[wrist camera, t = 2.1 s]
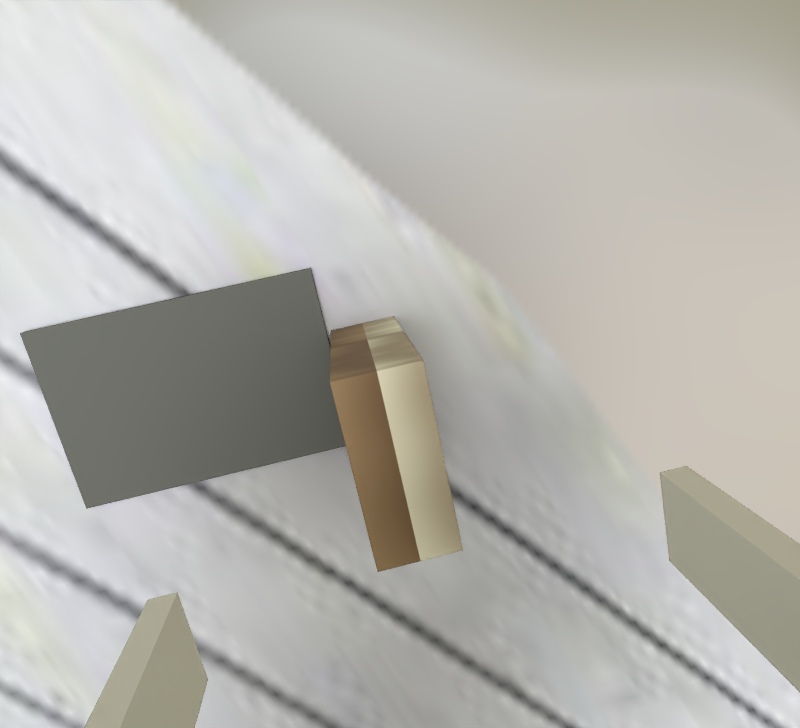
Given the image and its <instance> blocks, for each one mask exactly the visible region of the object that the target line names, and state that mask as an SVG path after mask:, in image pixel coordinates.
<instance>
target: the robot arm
mask: <svg viewBox="0 0 800 728" xmlns="http://www.w3.org/2000/svg"><path fill="white" fill-rule="evenodd" d="M660 479H661V488H662V498H663V507H664V516H665V525H666V535H667V544H668V553H669V561H670V562H671V563H672V564H673V565H674V566H675V567H676V568H677V569H678V570H679V571H680V572H681V573H682V574H683V575H684V576H685V577H686V578H687V579H688V580H689V581H690V582H691V583H692V584H693V585H694V586H695V587H696V588H697V589H698V590H699V591H700V592H701V593H702V594H703V595H704V596H705V597H706V598H707V599H708V600H709V601H710V602H711V603H712V604H713V605H714V606H715V607H716V608H717V609H718V610H719V611H720V612H721V613H722V614H723V615H724V616H725V617H726V618H727V619H728V620H729V621H730V622H731V623H732V624H733V626H734V627H735V628H736V629H737V630H738V631H739V632H740V633H741V634H742V635H743V636H744V637H745V638H746V639H747V640H748V641H749V642H750V643H751V644H752V645H753V646H754V647H755V648H756V649H757V650H758V651H759V652H760V653H761V654H762V655H763V656H764V657H765V658H766V659H767V660H768V661H769V662H770V663H771V664H772V665H773V666H774V667H775V668H776V669H777V670H778V671H779V672H780V673H781V674H782V675H783V676H784V677H785V678H786V679H787V680H788V681H789V682H790V683H791V684H792V685H793V686H794V687H795V688H796V689H797V690H798V691H799V692H800V544H799V543H798V542H796V541H795V540H793V539H792V538H790V537H789V536H787V535H786V534H785V533H783V532H782V531H780V530H779V529H777V528H776V527H774V526H773V525H772V524H770V523H769V522H767V521H766V520H764V519H763V518H761V517H760V516H758V515H757V514H755V513H754V512H753V511H751V510H750V509H748V508H747V507H745V506H744V505H743V504H741V503H740V502H738V501H737V500H735V499H734V498H732V497H731V496H730V495H728V494H727V493H725V492H724V491H722V490H721V489H719V488H718V487H716V486H715V485H714V484H712V483H711V482H709V481H708V480H706V479H705V478H703V477H702V476H701V475H699V474H698V473H696V472H695V471H693V470H692V469H690V468H689V467H687V466H684V467H680V468H676V469H673V470H668V471H664V472H660ZM207 681H208V678H207V675H206V672H205V670H204V667H203V664H202V661H201V658H200V655H199V652H198V650H197V647H196V644H195V641H194V638H193V635H192V633H191V630H190V627H189V624H188V621H187V618H186V615H185V613H184V610H183V607H182V604H181V601H180V598H179V596H178V593H173V594H169V595H165V596H161V597H157V598H153V599H149V600H147V602H146V604H145V606H144V609H143V611H142V613H141V615H140V617H139V619H138V621H137V623H136V625H135V627H134V629H133V631H132V633H131V635H130V637H129V639H128V641H127V643H126V645H125V647H124V649H123V651H122V653H121V655H120V657H119V659H118V661H117V663H116V665H115V667H114V669H113V671H112V673H111V675H110V677H109V679H108V681H107V683H106V685H105V687H104V689H103V691H102V693H101V695H100V697H99V699H98V701H97V703H96V705H95V707H94V709H93V711H92V713H91V715H90V717H89V719H88V721H87V723H86V725H85V727H84V728H195V724H196V721H197V717H198V713H199V710H200V706H201V703H202V699H203V695H204V692H205V688H206V685H207Z"/></svg>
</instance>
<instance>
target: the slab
mask: <svg viewBox="0 0 800 728" xmlns="http://www.w3.org/2000/svg"><path fill="white" fill-rule="evenodd" d="M330 385H331V389H332V393H333V397H334V401H335V404H336V408H337V412H338V416H339V420H340V424H341V428H342V432H343V436H344V440H345V444H346V448H347V452H348V456H349V460H350V464H351V468H352V472H353V476H354V480H355V484H356V488H357V492H358V496H359V500H360V504H361V508H362V512H363V516H364V520H365V524H366V527H367V531H368V535H369V539H370V543H371V547H372V551H373V555H374V559H375V563H376V567H377V571H378V572H379V571H383V570H387V569H391V568H395V567H399V566H403V565H407V564H411V563H415V562H419V561H423V560H427V559H430V558H434V557H438V556H442V555H446V554H450V553H454V552H458V551H462V550H463V548H462V543H461V538H460V534H459V529H458V524H457V519H456V515H455V510H454V505H453V500H452V495H451V491H450V486H449V481H448V476H447V471H446V467H445V462H444V457H443V452H442V448H441V443H440V438H439V433H438V428H437V424H436V419H435V414H434V409H433V405H432V400H431V395H430V390H429V385H428V381H427V376H426V371H425V366H424V361H423V359H422V358H421V356H420V355H419V353H418V352H417V350H416V349H415V347H414V346H413V344H412V343H411V341H410V340H409V338H408V337H407V335H406V334H405V333H404V331H403V330H402V328H401V327H400V325H399V324H398V322H397V321H396V319H395V318H394V316H392V317H388V318H384V319H379V320H375V321H371V322H366V323H362V324H357V325H353V326H349V327H344V328H340V329H336V330H331V351H330Z"/></svg>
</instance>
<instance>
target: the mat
mask: <svg viewBox="0 0 800 728" xmlns="http://www.w3.org/2000/svg"><path fill="white" fill-rule="evenodd" d="M20 335H21V337H22V340H23V343H24V345H25V348H26V350H27V353H28V356H29V358H30V361H31V364H32V366H33V369H34V372H35V374H36V377H37V379H38V382H39V385H40V387H41V390H42V393H43V395H44V398H45V400H46V403H47V406H48V408H49V411H50V414H51V416H52V419H53V422H54V424H55V427H56V429H57V432H58V435H59V437H60V440H61V443H62V445H63V448H64V451H65V453H66V456H67V458H68V461H69V464H70V466H71V469H72V472H73V474H74V477H75V479H76V482H77V485H78V487H79V490H80V493H81V495H82V498H83V501H84V503H85V506H86V508H91V507H95V506H99V505H103V504H107V503H112V502H116V501H120V500H124V499H128V498H132V497H136V496H141V495H145V494H149V493H153V492H157V491H161V490H165V489H170V488H174V487H178V486H182V485H186V484H190V483H194V482H199V481H203V480H207V479H211V478H215V477H219V476H223V475H228V474H232V473H236V472H240V471H244V470H248V469H252V468H257V467H261V466H265V465H269V464H273V463H277V462H281V461H286V460H290V459H294V458H298V457H302V456H306V455H310V454H315V453H319V452H323V451H327V450H331V449H335V448H339V447H344V446H346V444H345V440H344V436H343V432H342V428H341V424H340V420H339V416H338V412H337V408H336V404H335V401H334V397H333V393H332V389H331V385H330V351H331V349H330V344H329V340H328V336H327V332H326V328H325V324H324V320H323V316H322V312H321V308H320V304H319V300H318V296H317V292H316V288H315V284H314V280H313V276H312V272H311V268H309V269H304V270H300V271H295V272H291V273H286V274H282V275H277V276H273V277H268V278H264V279H259V280H255V281H250V282H246V283H242V284H237V285H233V286H228V287H224V288H219V289H215V290H210V291H206V292H201V293H197V294H192V295H188V296H183V297H179V298H174V299H170V300H165V301H161V302H156V303H152V304H147V305H143V306H138V307H134V308H130V309H125V310H121V311H116V312H112V313H107V314H103V315H98V316H94V317H89V318H85V319H80V320H76V321H71V322H67V323H62V324H58V325H53V326H49V327H44V328H40V329H35V330H31V331H26V332H23V333H20Z"/></svg>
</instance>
